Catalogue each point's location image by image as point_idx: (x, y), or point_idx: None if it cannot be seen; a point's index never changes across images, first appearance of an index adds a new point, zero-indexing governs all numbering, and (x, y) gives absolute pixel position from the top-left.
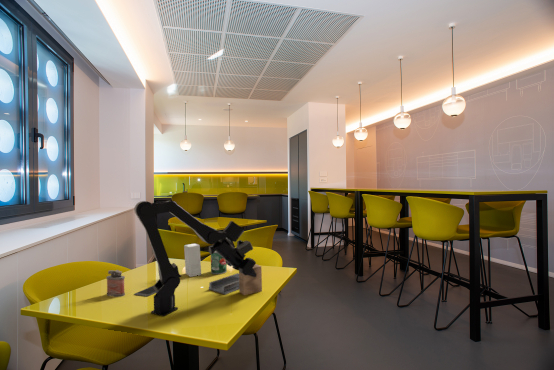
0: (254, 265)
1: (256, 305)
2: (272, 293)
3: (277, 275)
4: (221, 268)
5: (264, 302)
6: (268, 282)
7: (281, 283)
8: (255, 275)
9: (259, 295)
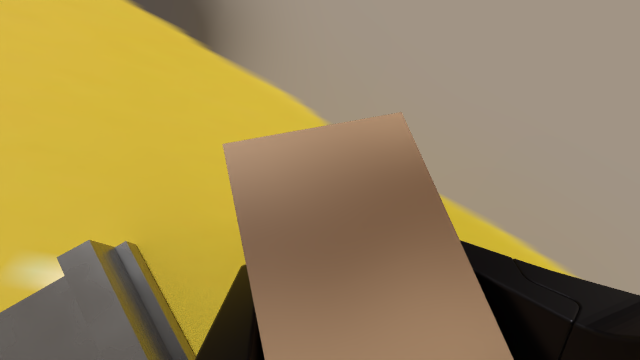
0: (298, 195)
1: None
2: None
3: (52, 34)
4: None
5: (521, 243)
6: (173, 129)
7: (237, 68)
8: None
9: None
